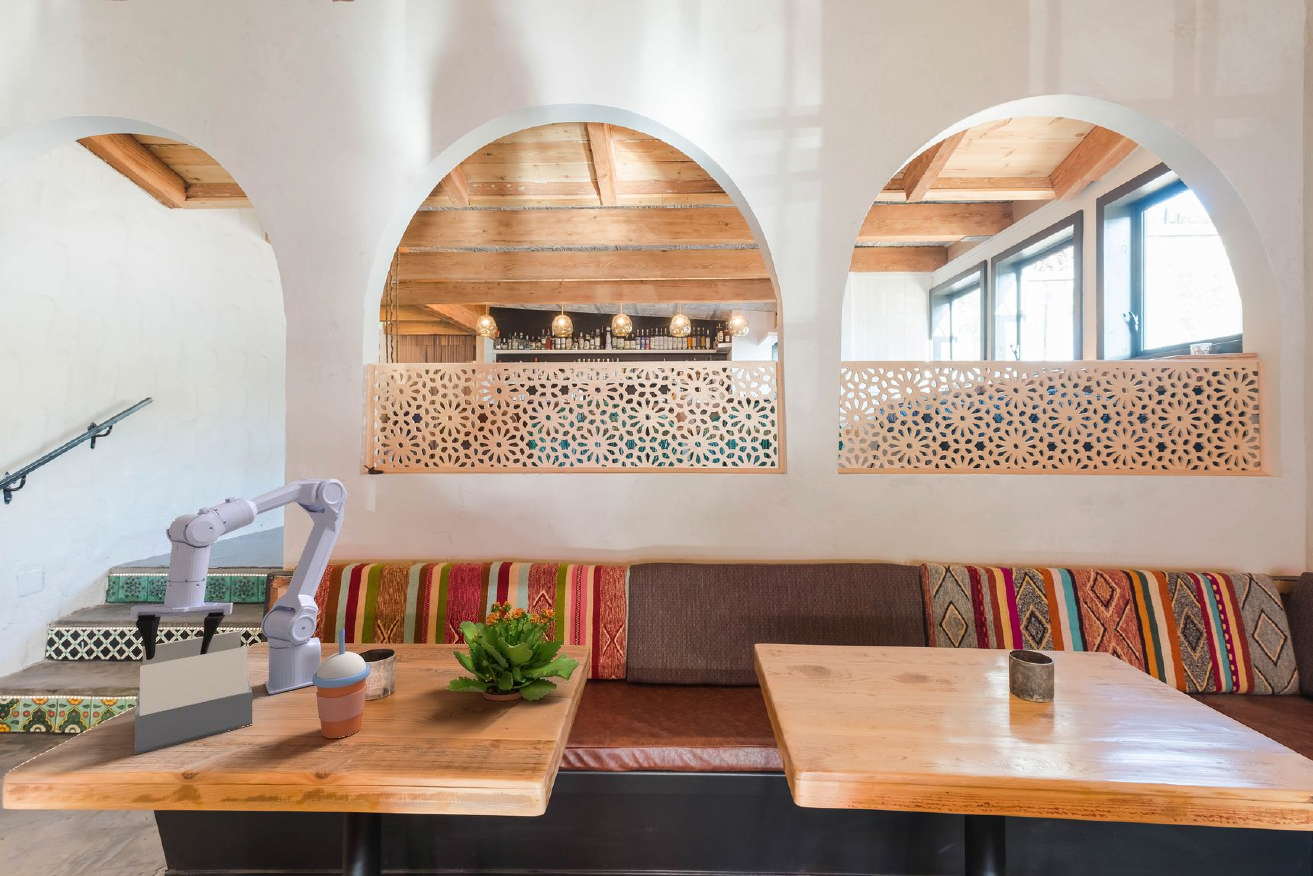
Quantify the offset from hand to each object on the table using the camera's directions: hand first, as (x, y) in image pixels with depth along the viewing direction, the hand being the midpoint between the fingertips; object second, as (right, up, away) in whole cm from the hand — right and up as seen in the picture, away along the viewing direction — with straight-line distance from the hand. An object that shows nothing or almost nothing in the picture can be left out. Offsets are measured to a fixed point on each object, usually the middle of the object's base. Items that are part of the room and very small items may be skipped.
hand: (177, 656), depth 107 cm
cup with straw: (+31, -13, -2) cm, 33 cm away
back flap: (-2, -3, +7) cm, 8 cm away
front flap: (+7, -2, -4) cm, 8 cm away
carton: (+2, -13, +1) cm, 13 cm away
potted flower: (+55, -13, +14) cm, 58 cm away
